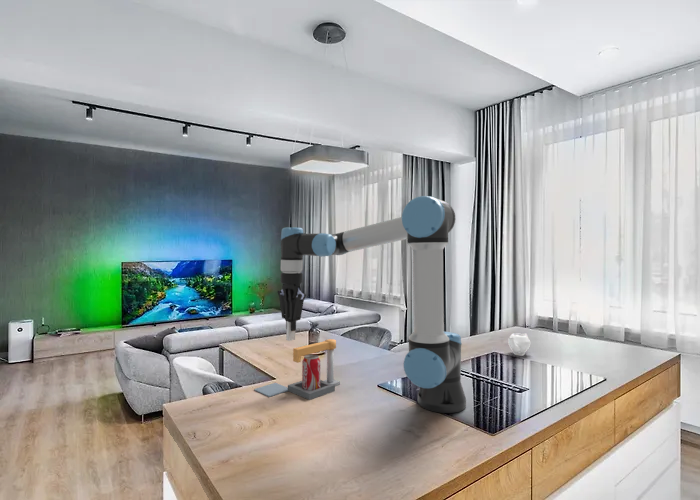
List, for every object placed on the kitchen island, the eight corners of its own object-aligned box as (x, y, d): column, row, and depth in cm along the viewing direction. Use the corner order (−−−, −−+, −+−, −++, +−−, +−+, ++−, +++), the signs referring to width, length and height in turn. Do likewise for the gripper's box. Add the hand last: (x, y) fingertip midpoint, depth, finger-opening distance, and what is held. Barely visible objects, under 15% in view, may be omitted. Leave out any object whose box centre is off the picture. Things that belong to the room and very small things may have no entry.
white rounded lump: (537, 352, 193) (538, 332, 193) (520, 360, 179) (520, 339, 178) (517, 348, 200) (517, 329, 199) (499, 356, 185) (499, 336, 185)
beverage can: (317, 395, 137) (317, 359, 137) (299, 393, 139) (299, 358, 138) (322, 388, 144) (322, 354, 143) (305, 387, 145) (305, 353, 144)
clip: (338, 352, 147) (338, 340, 147) (299, 363, 134) (299, 349, 134) (330, 350, 150) (330, 338, 150) (291, 360, 137) (291, 347, 137)
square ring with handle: (346, 386, 145) (346, 350, 145) (309, 400, 133) (309, 360, 133) (324, 378, 153) (324, 345, 153) (287, 390, 141) (287, 354, 141)
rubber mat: (291, 390, 142) (291, 388, 142) (269, 397, 135) (269, 395, 135) (275, 383, 148) (275, 382, 148) (254, 390, 141) (254, 389, 141)
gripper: (312, 272, 140) (311, 341, 140) (288, 270, 149) (287, 334, 149) (294, 273, 134) (294, 345, 135) (271, 271, 143) (270, 338, 144)
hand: (290, 339), depth 142 cm, fingers closed
